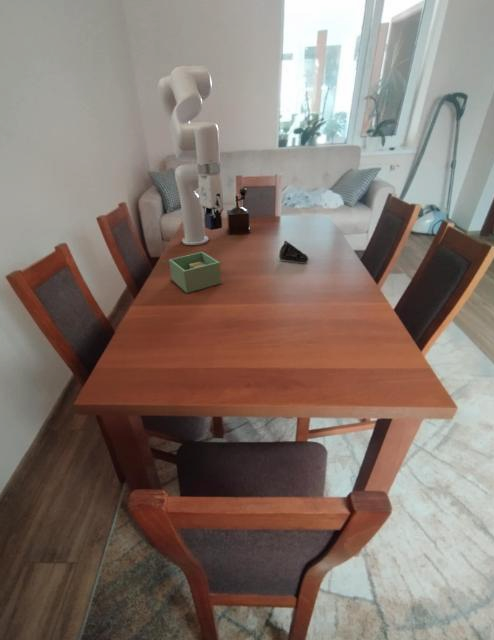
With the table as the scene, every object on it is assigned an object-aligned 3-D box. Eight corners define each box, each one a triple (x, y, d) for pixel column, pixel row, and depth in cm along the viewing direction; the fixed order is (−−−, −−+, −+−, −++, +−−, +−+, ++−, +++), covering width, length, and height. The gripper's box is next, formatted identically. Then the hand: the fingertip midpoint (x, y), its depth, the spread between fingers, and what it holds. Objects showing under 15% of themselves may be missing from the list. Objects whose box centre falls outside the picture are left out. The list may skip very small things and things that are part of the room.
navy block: (205, 227, 121) (204, 214, 118) (216, 225, 123) (215, 211, 120) (211, 230, 118) (210, 216, 115) (222, 227, 120) (221, 214, 117)
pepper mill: (251, 233, 163) (250, 193, 152) (228, 235, 163) (227, 194, 152) (247, 225, 175) (246, 187, 164) (226, 226, 175) (224, 188, 164)
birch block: (190, 276, 123) (189, 263, 120) (201, 273, 125) (200, 261, 122) (195, 280, 120) (194, 267, 117) (206, 277, 122) (205, 265, 119)
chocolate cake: (313, 259, 134) (297, 234, 133) (310, 260, 128) (292, 234, 127) (294, 273, 139) (278, 250, 138) (290, 275, 133) (273, 250, 132)
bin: (172, 280, 123) (168, 259, 118) (204, 271, 128) (202, 251, 123) (186, 293, 114) (183, 271, 109) (221, 283, 118) (219, 262, 114)
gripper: (188, 168, 114) (194, 224, 125) (211, 173, 102) (215, 234, 113) (207, 166, 116) (211, 220, 128) (232, 170, 105) (234, 230, 116)
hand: (213, 226), depth 120 cm, fingers closed on navy block, 4 cm apart
